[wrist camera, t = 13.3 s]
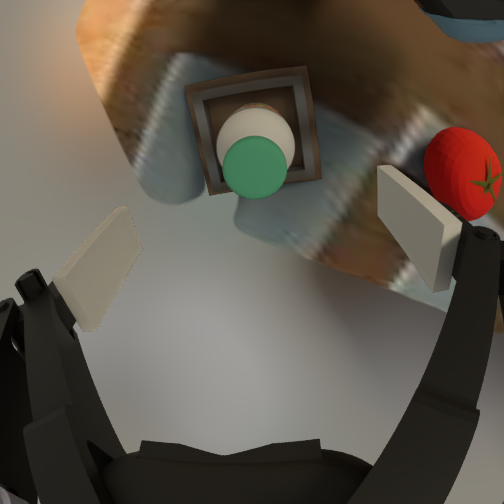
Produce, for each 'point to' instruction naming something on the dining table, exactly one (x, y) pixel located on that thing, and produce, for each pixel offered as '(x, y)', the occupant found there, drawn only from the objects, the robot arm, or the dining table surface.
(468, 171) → the tomato
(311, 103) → the bottle stand
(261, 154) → the milk bottle
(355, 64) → the dining table surface
